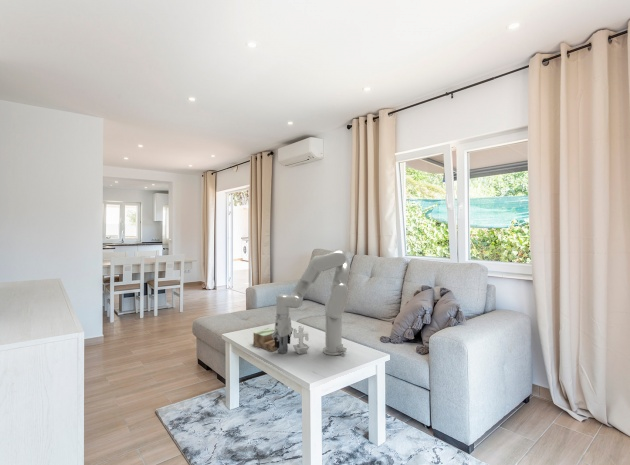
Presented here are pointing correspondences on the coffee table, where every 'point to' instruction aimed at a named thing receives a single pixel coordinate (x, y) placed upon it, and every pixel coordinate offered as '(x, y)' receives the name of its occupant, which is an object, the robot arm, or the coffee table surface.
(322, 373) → the coffee table surface
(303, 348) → the figurine
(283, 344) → the column
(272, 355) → the coffee table surface
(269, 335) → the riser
